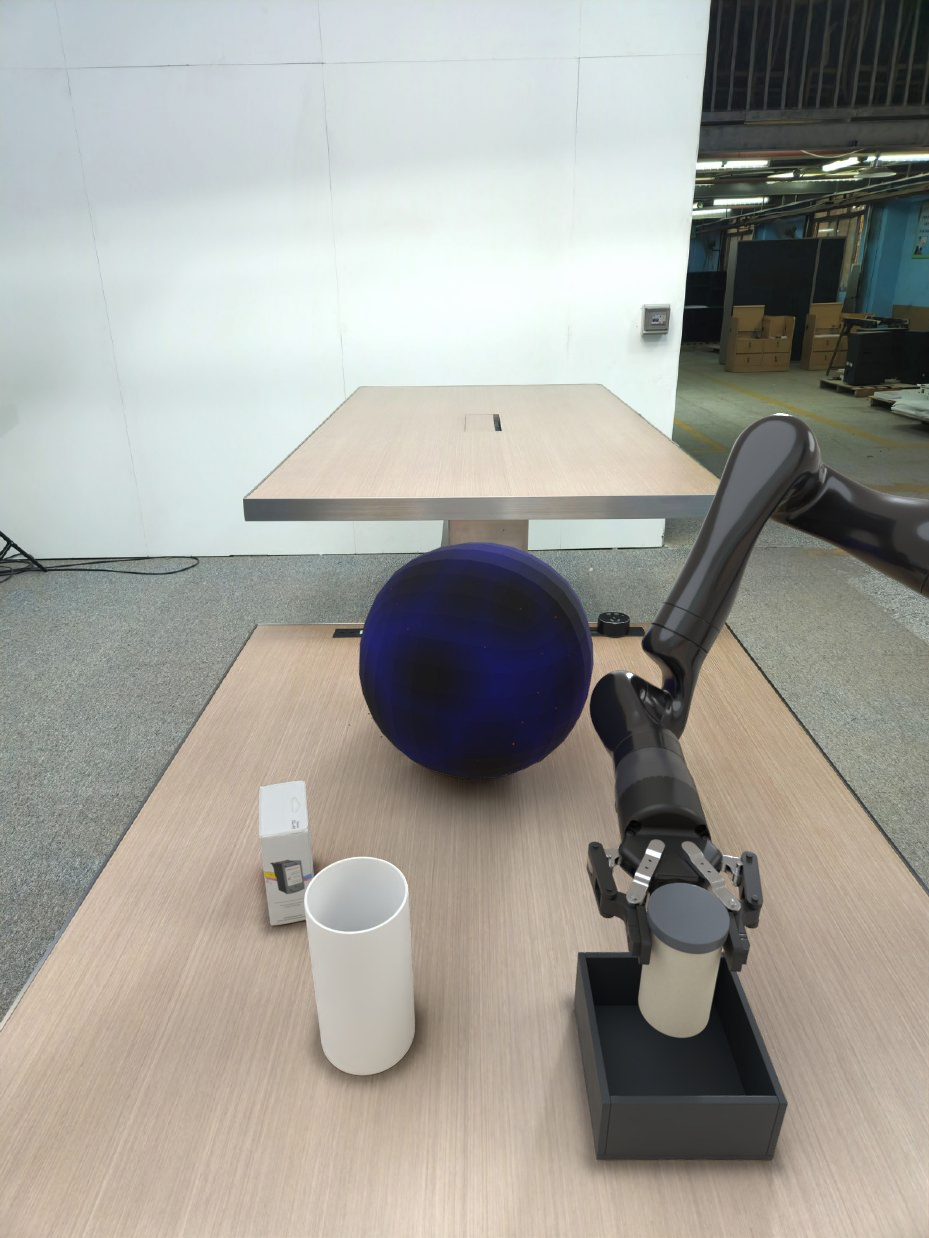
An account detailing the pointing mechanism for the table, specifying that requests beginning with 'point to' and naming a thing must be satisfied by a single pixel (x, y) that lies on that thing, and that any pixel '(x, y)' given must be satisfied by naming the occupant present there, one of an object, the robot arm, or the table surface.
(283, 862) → the ink box
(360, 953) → the cup
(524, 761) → the ball
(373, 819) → the table surface
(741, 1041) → the open storage box
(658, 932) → the container
